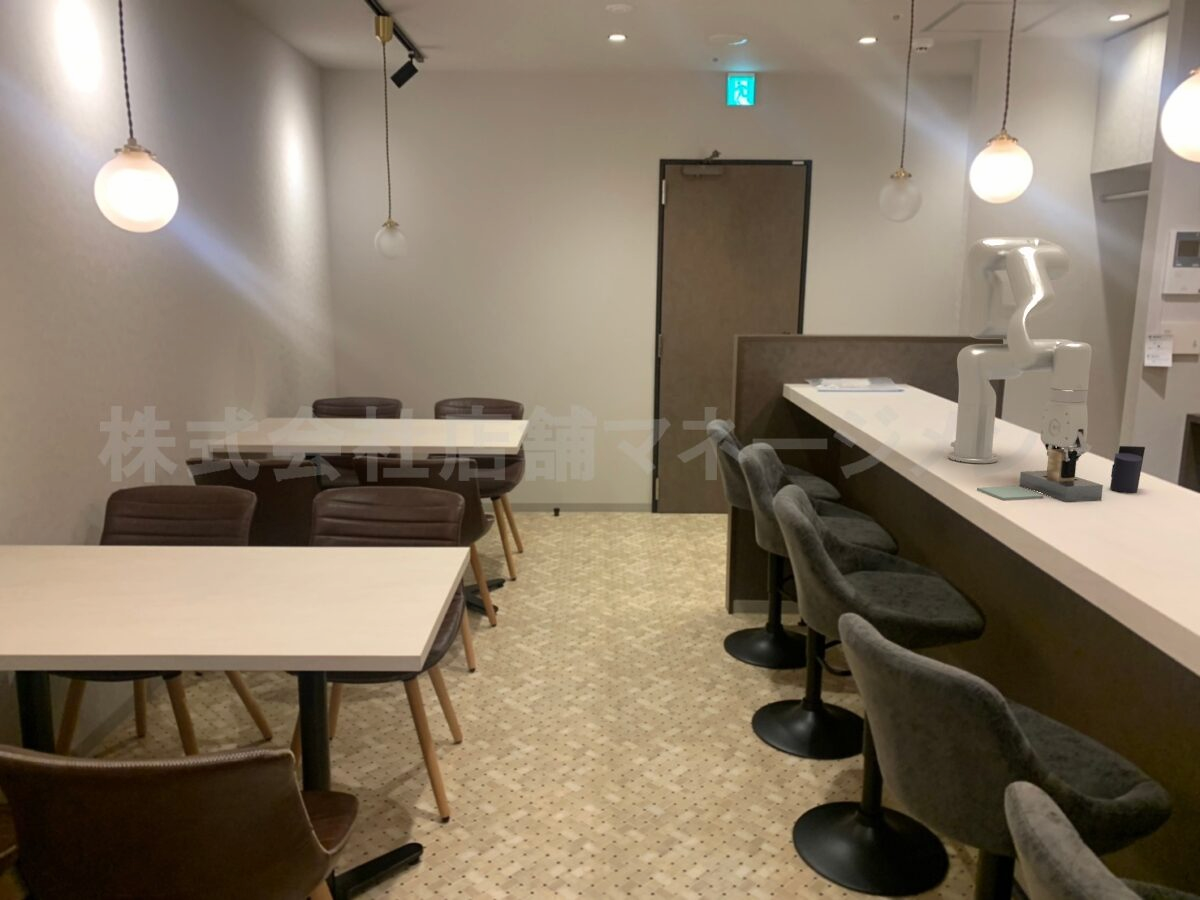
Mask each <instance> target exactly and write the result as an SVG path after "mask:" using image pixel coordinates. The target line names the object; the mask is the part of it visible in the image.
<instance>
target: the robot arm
mask: <svg viewBox="0 0 1200 900" xmlns="http://www.w3.org/2000/svg"><path fill="white" fill-rule="evenodd" d="M1069 259H1070V258H1069V255H1068V253H1067V251H1066V250H1065V249H1064V248H1063V247H1062V246H1061V245H1059V244H1056V243H1054V242H1051V241H1048V240H1046V239H1044V238H1041V237H1034V236H989V237H984V238H980V239H978V240H976V241H974V243H972V244H971V246H970V248H969V249H968V253H967V256H966V272H967V276H968V288H969V289H968V299H967V300H968V301H967V312H966V313H967V314H966V333H967V334H968V336H970V337H971V338H974V339H978V340H1002V343H999V344H998V343H976V344H970V345H967V346H965V347H963V348H961V350H960V351H959V352H958V355H957V359H956V364H957V365H956V366H957V374H958V397H957V399H958V400H957V414H956V415H957V416H956V427H955V428H956V429H955V430H956V431H955V440H954V441H952V442H950V447H953V451H951V452H949V453H948V457H949V458H950V460H952V461H955V460H956V462H960V461H961V462H960V463H969V464H992V463H997V462H998V460H999V457H998V455H996V454H993V446H994V433H995V420H996V410H997V409H996V408H997V407H996V406H997V393H996V391H995V389H994V387H993V386H992V384H991V383H990V381H991V380H1014V379H1017V378H1019V377H1021V376H1022V375H1023V374H1024V372H1030V373H1031V372H1051V379H1050V380H1051V381H1050V390H1049V400H1047V402H1046V405H1045V409H1044V411H1043V417H1042V422H1041V427H1040V428H1041V429H1040V441H1041V443H1042V444H1043V445H1044V446H1045V450H1046V456H1047V457H1048V459H1047V461H1048V460H1049V449H1064V459H1065V461H1062V470H1061V477H1062V478H1074V477H1076V470H1077V462H1078V461H1079V460H1080V459H1079V458H1080V457H1081V456H1082V455H1084V454H1085V453H1087V452H1088V447H1087V445H1086V443H1087V440H1088V439H1087V437H1088V427H1089V426H1088V425H1089V422H1088V421H1089V419H1088V418H1089V417H1088V414H1089V413H1088V405H1087V401H1088V393H1089V392H1088V391H1089V381H1090V373H1091V371H1090V370H1091V363H1092V362H1091V360H1092V346H1091V344H1089V343H1087V342H1083V341H1081V342H1080V341H1073V340H1071V339H1066V338H1053V339H1051V338H1038V339H1037V338H1034V339H1033V338H1032V339H1031V338H1030V334H1031V333H1030V332H1031V317H1034V316H1037V315H1040V314H1041V313H1044V312H1045V311H1046V310H1049V309H1050V308H1051V307H1053V305H1054V304H1055V302H1056V294H1055V291H1054V288H1053V286H1052V282H1051V281H1058V280H1061V279H1062V278H1063V277H1065V276H1066V274H1067V272H1068V270H1069V267H1070V260H1069ZM997 271H1006V273H1007V274H1006V275H1007V277H1008V281H1009V285H1010V287H1011V291H1012V295H1013V297H1014V301H1015V302H1007V303H1006V302H1004V294H1005V285H1004V282H1003V280H1002V279H1001V276H1000V274H998V272H997ZM1070 450H1072V452H1071V453H1070ZM949 458H948V459H949ZM1046 469H1047V470H1048V466H1047V467H1046ZM1047 470H1046V471H1047Z"/></svg>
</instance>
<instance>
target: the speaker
mask: <svg viewBox="0 0 1200 900" xmlns="http://www.w3.org/2000/svg"><path fill="white" fill-rule="evenodd" d="M1118 447H1119V448H1118V452H1117V453H1115V454H1114V461H1113V464H1112V469H1111V473H1110V478H1111V479H1110V486H1109V489H1111V490H1113V491H1115V492H1118V491H1120V492H1119V493H1123V492H1126V493H1125V494H1135V493H1137V492H1138V489H1139V485H1140V478H1141V472H1142V466H1143V463H1144V462H1143V460H1144V455H1145V449H1146V447H1145V446H1129V445H1119V446H1118Z"/></svg>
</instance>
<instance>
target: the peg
mask: <svg viewBox="0 0 1200 900" xmlns="http://www.w3.org/2000/svg"><path fill="white" fill-rule="evenodd" d="M1072 451H1073V450H1070V453H1071V452H1072ZM1048 457H1049V460H1048V459H1047V467H1048V470H1046V471H1047V478H1049V479H1052V480H1055V481H1074V478H1062V477H1061V470H1062V461H1065V459H1064V448H1062V449H1049V456H1048Z"/></svg>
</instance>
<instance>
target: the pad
mask: <svg viewBox="0 0 1200 900" xmlns="http://www.w3.org/2000/svg"><path fill="white" fill-rule="evenodd" d="M976 491H977V492H980V491H981V493H983V494H985V493H986V495H989V496H992V497H993V498H996V499H998V498H999V499H998V500H1001V499H1002V500H1001V501H1012V500H1011V499H1021V500H1031V499H1030V498H1040V499H1044V494H1041V493H1038V492H1035V491H1032V490H1030V489H1027V488H1024V487H1021V486H1017V485H1003V486H985V487H983V486H982V487H976Z"/></svg>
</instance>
